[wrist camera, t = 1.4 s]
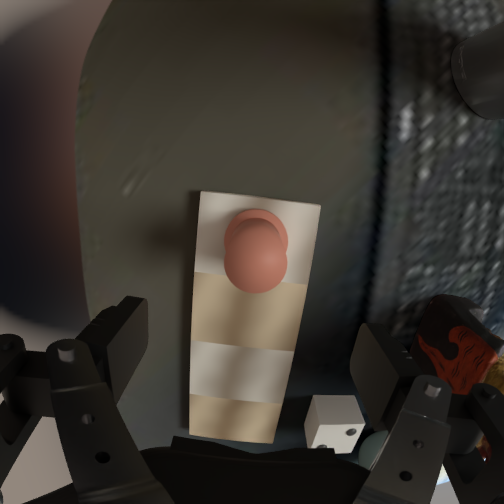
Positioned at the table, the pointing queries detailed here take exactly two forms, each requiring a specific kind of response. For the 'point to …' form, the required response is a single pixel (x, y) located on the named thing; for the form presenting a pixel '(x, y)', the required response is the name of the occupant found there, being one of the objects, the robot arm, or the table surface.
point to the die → (333, 422)
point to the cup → (371, 448)
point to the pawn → (255, 251)
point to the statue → (459, 349)
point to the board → (245, 323)
